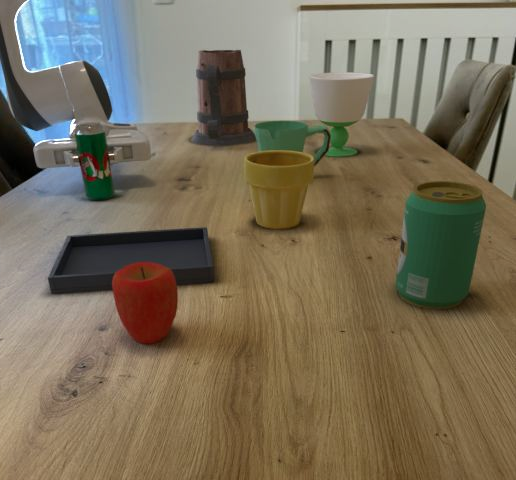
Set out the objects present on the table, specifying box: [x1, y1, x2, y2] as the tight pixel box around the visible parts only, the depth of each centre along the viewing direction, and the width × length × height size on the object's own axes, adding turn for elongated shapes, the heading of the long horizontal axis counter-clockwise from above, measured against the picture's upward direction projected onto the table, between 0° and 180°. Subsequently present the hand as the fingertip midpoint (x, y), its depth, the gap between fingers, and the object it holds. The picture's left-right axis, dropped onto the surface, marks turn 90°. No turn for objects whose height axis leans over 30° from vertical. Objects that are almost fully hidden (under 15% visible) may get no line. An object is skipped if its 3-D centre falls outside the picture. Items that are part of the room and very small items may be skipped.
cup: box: [309, 71, 375, 158], centre depth 121 cm, size 14×14×16 cm
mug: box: [253, 120, 331, 168], centre depth 104 cm, size 15×10×10 cm
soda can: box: [74, 124, 116, 201], centre depth 95 cm, size 5×5×12 cm
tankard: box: [190, 49, 257, 147], centre depth 133 cm, size 24×17×20 cm
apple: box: [112, 262, 179, 345], centre depth 54 cm, size 6×6×8 cm
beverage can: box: [395, 180, 487, 310], centre depth 60 cm, size 8×8×12 cm
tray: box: [47, 226, 215, 295], centre depth 71 cm, size 19×14×2 cm
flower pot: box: [243, 150, 315, 230], centre depth 83 cm, size 10×10×10 cm
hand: (94, 160), depth 94 cm, fingers closed on soda can, 5 cm apart
